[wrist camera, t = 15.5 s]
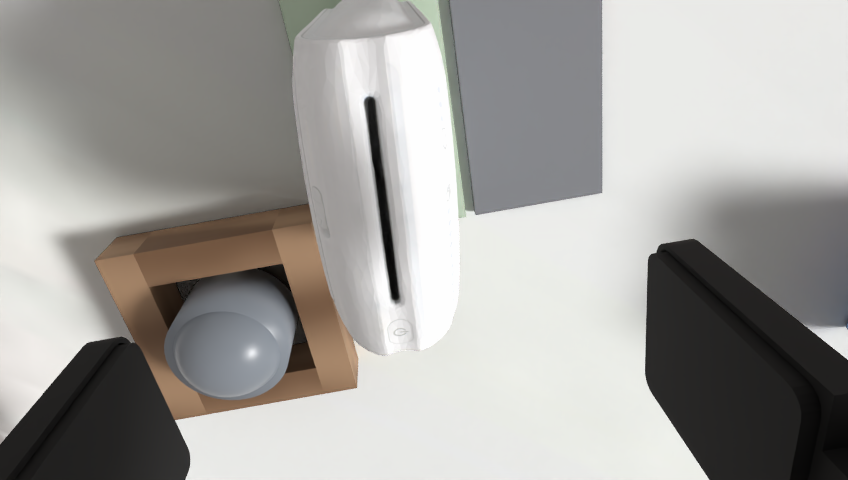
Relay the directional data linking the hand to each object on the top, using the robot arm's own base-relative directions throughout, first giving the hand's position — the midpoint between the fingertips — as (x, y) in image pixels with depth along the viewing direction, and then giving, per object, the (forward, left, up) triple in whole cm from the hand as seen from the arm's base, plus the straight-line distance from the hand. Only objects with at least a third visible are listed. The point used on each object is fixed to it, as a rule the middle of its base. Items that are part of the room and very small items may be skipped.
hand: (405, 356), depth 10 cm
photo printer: (+1, 0, -17) cm, 17 cm away
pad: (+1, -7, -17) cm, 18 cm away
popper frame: (-8, +9, -17) cm, 21 cm away
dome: (-8, +9, -16) cm, 20 cm away
